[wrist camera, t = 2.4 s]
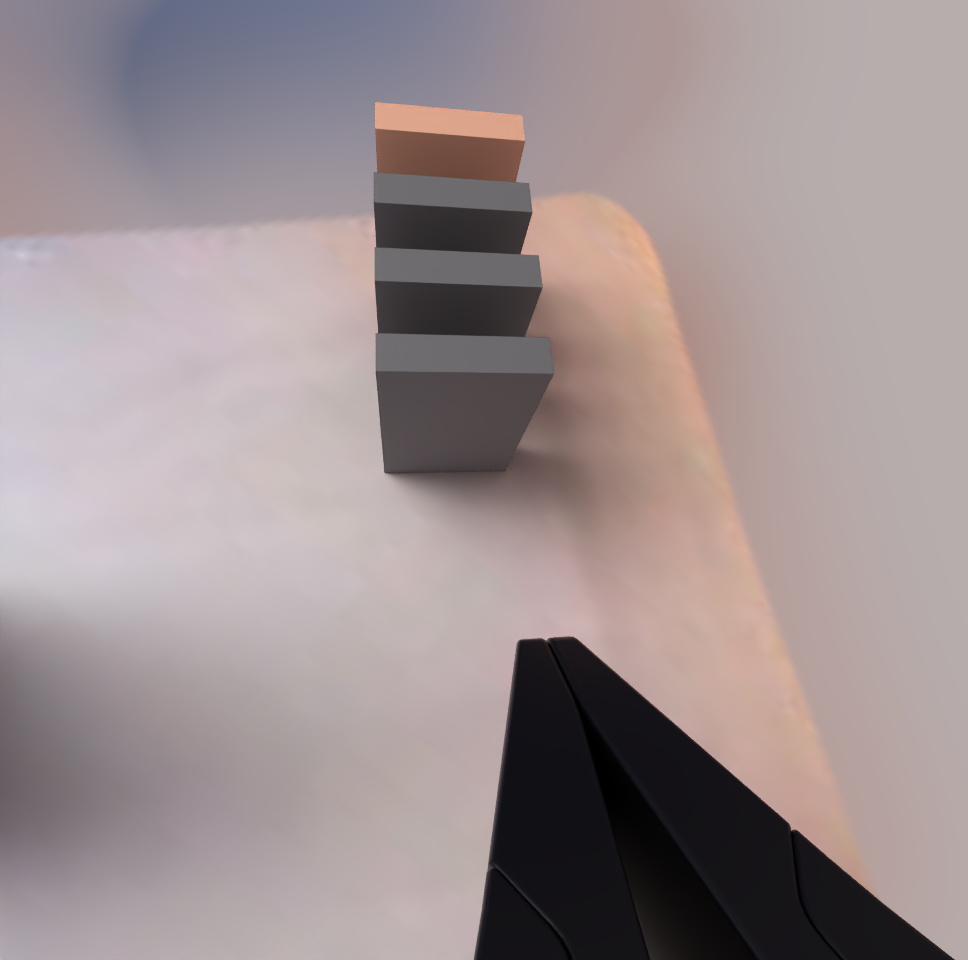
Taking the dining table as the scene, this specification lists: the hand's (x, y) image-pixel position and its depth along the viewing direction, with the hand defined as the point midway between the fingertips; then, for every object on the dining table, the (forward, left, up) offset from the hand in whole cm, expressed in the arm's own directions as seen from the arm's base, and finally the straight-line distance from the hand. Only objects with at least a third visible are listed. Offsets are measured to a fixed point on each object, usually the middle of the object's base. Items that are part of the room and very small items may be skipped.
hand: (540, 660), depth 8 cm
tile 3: (+11, -9, -13) cm, 19 cm away
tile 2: (+9, -7, -13) cm, 17 cm away
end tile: (+13, -11, -13) cm, 22 cm away
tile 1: (+6, -5, -13) cm, 16 cm away
